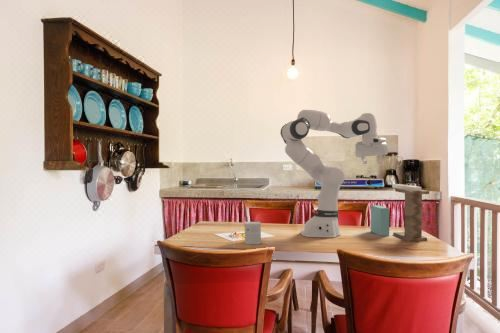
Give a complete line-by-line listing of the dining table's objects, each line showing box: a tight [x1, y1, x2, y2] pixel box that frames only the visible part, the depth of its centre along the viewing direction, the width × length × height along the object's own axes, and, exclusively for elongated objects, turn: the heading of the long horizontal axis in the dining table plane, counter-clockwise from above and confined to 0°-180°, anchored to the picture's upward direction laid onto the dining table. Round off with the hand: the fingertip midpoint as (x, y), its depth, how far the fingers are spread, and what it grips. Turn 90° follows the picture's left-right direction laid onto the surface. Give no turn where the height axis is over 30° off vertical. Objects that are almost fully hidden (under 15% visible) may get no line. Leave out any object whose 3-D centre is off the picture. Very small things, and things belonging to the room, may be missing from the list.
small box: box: [244, 221, 262, 245], centre depth 167 cm, size 8×6×10 cm
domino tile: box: [391, 183, 422, 191], centre depth 182 cm, size 4×22×2 cm, turn 5°
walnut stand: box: [392, 188, 430, 242], centre depth 177 cm, size 11×16×26 cm
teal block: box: [370, 204, 390, 237], centre depth 189 cm, size 5×12×16 cm, turn 5°
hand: (372, 163), depth 195 cm, fingers open, 8 cm apart
